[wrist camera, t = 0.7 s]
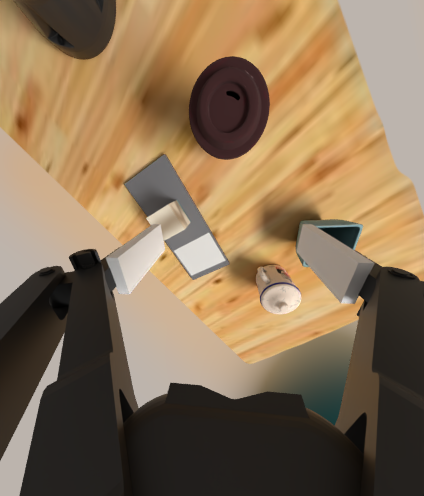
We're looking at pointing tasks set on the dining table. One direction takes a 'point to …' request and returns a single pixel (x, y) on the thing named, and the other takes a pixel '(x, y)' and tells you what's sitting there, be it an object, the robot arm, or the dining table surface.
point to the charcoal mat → (197, 232)
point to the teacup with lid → (277, 290)
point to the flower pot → (335, 232)
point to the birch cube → (170, 219)
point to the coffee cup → (229, 107)
